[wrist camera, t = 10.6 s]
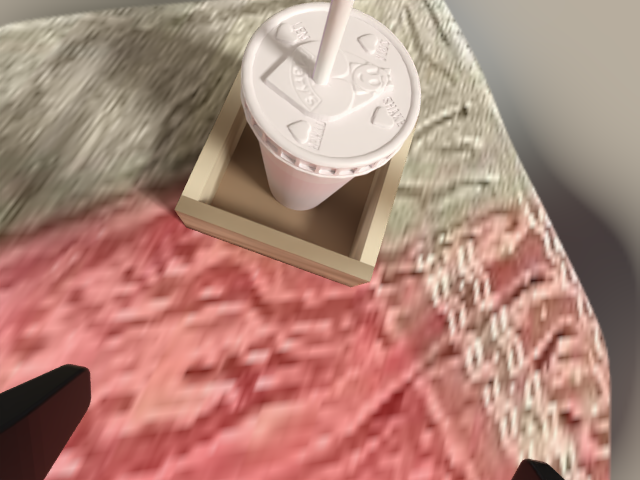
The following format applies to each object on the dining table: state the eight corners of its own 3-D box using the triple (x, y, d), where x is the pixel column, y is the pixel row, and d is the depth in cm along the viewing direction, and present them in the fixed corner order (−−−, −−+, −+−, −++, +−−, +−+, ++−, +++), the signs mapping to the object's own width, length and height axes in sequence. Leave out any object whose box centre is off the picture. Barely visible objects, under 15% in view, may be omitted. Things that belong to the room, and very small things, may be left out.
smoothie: (239, 133, 21) (217, -172, 8) (343, 128, 23) (475, -140, 9) (251, 238, 20) (249, 91, 7) (359, 227, 22) (536, 85, 8)
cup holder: (351, 287, 21) (369, 281, 18) (186, 227, 20) (174, 209, 17) (395, 143, 24) (419, 115, 21) (251, 84, 23) (251, 43, 19)
